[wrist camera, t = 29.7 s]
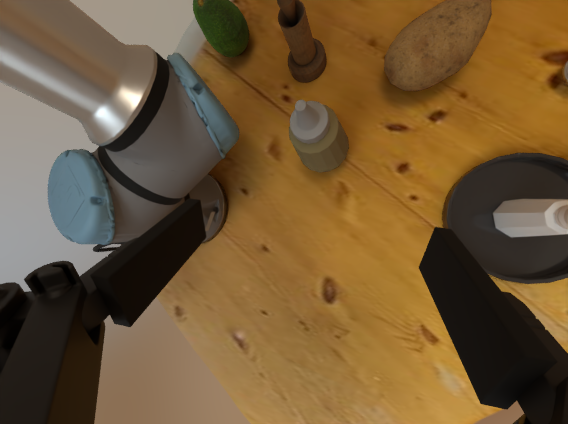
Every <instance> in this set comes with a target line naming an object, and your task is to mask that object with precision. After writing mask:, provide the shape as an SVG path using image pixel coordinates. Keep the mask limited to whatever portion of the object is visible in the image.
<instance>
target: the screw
mask: <svg viewBox="0 0 568 424" xmlns="http://www.w3.org/2000/svg"><path fill="white" fill-rule="evenodd" d="M562 76H563V79H564V85H566V86H568V61H567V62H566V63H565V65H564V67H563V70H562Z"/></svg>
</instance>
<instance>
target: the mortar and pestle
mask: <svg viewBox="0 0 568 424" xmlns="http://www.w3.org/2000/svg"><path fill="white" fill-rule="evenodd" d="M277 2H278V5H279V7H280V11H279V14H278V21H279V24H280V26H281V29H282V31H283V33H284V36H285V38H286V40H287V43H288V45H289V48H290V50H291V51H290V53H289V56H288V66H289V69H290V71H291V73H292V75H293V77H294V78H295V79H296V80H298V81H300V82H309V81H312V80H314V79H316V78H317V77H319V76H320V75H321V73H322V72H323V71H324V69H325V66H326V54H325V50H324V47H323V45H322V43H321V42H320V41H319V40H317V39H314V38H313V37H312V34H311V30H310V26H309V22H308V19H307V15H306V11H305V7H304V5H303V3H302V2H301V1H300V0H277Z"/></svg>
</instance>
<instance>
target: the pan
mask: <svg viewBox="0 0 568 424" xmlns="http://www.w3.org/2000/svg"><path fill="white" fill-rule="evenodd" d="M517 199H568V161H567V160H565V159H563V158H560V157H555V156H551V155H546V154H542V153H515V154H510V155H505V156H500V157H496V158H494V159H492V160H489V161H487V162H485V163H482V164H480V165H478V166H476V167H474V168H473V169H471V170H470V171H468V172H467V173H466V174H464V175H463V176H462V177H461V178H460V179H459V180H458V181H457V182H456V183H455V184H454V186H453V187H452V188H451V190H450V191H449V193H448V195H447V197H446V200H445V203H444V207H443V227H444V228H447V229H452V231H453V232H454V233H455V234H456V236H457V237H458V238H459V239H460V241H461V242H462V243H463V244H464V245H465V247H466V248H467V249H468V250H469V252H470V253H471V254H472V255H473V257H474V258H475V259H476V260H477V262H478V263H479V264H480V265H481V267H482V268H483V269H484V270H485V272H486V273H487V274H489V275H492V276H495V277H497V278H500V279H503V280H506V281H512V282H518V283H525V284H535V283H550V282H554V281H557V280H561V279H565V278H568V234H562V235H547V236H527V237H510V236H508V235H506V234H505V233H503V232H501V231H500V230H498V229H497V228H496V227H495V222H494V217H493V212H494V211H495V210H496V209H497V208H498V207H499V206H500V205H501V204H502V202H503V201H509V200H517Z"/></svg>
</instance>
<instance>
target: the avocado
mask: <svg viewBox="0 0 568 424" xmlns="http://www.w3.org/2000/svg"><path fill="white" fill-rule="evenodd" d="M193 11H194V14H195V17H196V20H197V22H198V24H199V26H200V28H201V29H202V31H203V33H204V35H205V37H206V39H207V41H208V42H209V43H210V44H211V45H212V46H213V48H214V49H215V50H216V51H217V52H219V53H221V54H222V55H224V56H227V57H236V56H238V55H240V54H241V53H242V52H243V51H244V50H245V49H246V47H247V44H248V40H249V30H248V26H247V22H246V20H245V18H244V16H243V14H242V13H241V12H240V10H239V9H238V7H236V6H235V5H234V4H233V3H232V2H231V1H229V0H193Z"/></svg>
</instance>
